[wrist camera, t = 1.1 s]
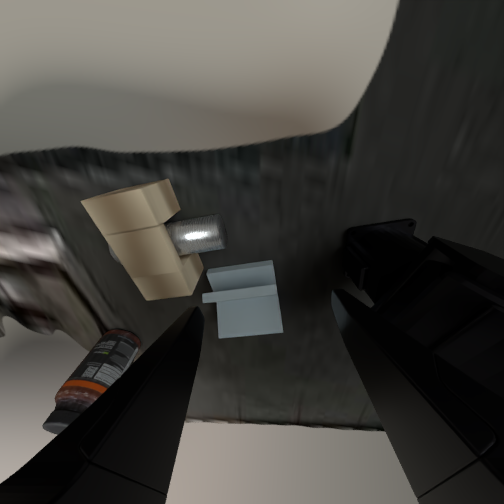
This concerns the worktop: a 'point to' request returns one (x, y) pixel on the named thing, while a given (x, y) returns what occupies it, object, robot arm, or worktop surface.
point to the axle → (195, 235)
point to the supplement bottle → (93, 377)
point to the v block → (245, 299)
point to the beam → (146, 238)
